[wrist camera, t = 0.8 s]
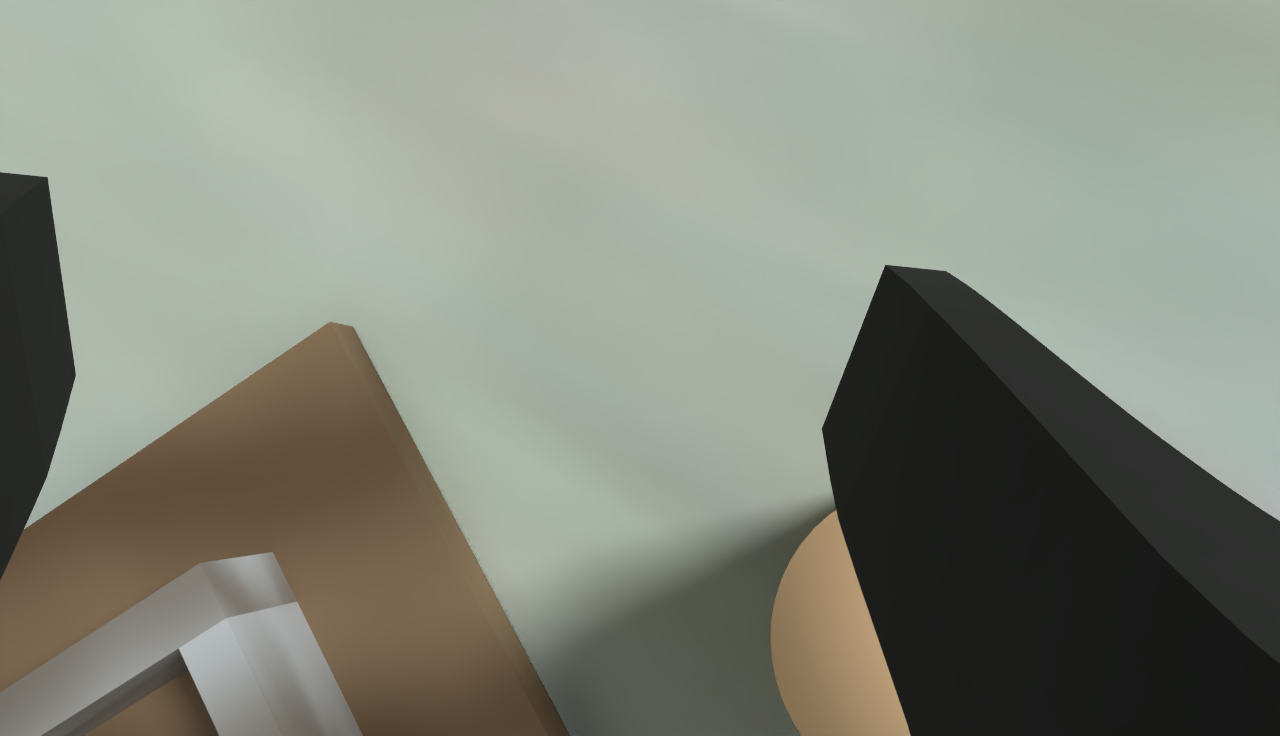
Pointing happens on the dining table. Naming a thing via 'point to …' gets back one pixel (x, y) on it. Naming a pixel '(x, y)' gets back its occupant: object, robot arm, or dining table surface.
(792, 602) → the tan rounded cone
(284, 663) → the sleeve holder
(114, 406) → the dining table surface
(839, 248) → the dining table surface
